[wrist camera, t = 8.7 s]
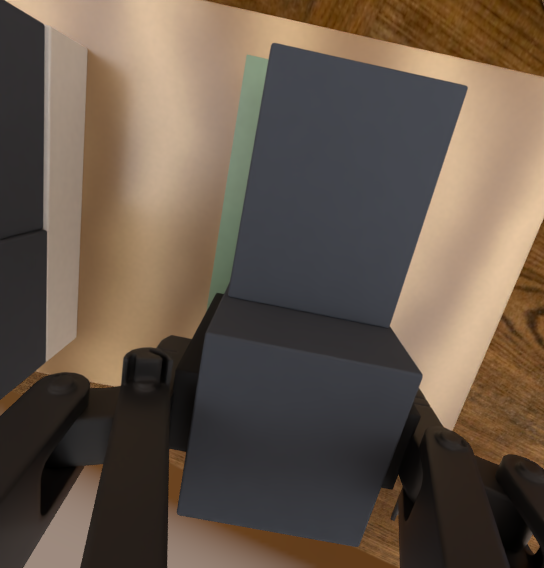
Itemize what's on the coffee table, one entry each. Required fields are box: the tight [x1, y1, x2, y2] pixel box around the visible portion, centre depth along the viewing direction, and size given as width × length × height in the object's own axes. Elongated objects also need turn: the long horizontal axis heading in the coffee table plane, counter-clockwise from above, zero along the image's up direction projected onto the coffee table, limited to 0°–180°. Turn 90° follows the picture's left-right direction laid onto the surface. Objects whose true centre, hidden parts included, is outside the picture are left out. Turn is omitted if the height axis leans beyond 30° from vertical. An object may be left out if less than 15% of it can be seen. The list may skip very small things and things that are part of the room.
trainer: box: [177, 43, 468, 547], centre depth 12 cm, size 13×6×8 cm, turn 169°
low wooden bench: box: [5, 0, 544, 431], centre depth 21 cm, size 30×18×10 cm, turn 79°
